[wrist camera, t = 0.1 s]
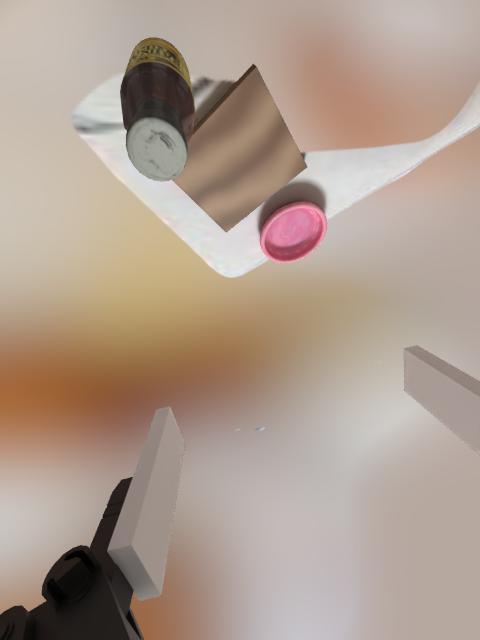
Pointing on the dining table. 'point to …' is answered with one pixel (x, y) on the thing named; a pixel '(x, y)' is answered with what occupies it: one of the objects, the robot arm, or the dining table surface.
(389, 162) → the dining table surface
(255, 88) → the walnut serving board
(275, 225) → the saucer
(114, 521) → the robot arm
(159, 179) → the sauce bottle
